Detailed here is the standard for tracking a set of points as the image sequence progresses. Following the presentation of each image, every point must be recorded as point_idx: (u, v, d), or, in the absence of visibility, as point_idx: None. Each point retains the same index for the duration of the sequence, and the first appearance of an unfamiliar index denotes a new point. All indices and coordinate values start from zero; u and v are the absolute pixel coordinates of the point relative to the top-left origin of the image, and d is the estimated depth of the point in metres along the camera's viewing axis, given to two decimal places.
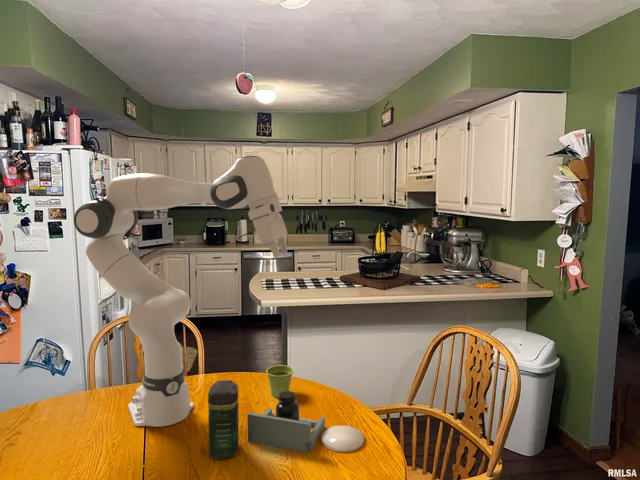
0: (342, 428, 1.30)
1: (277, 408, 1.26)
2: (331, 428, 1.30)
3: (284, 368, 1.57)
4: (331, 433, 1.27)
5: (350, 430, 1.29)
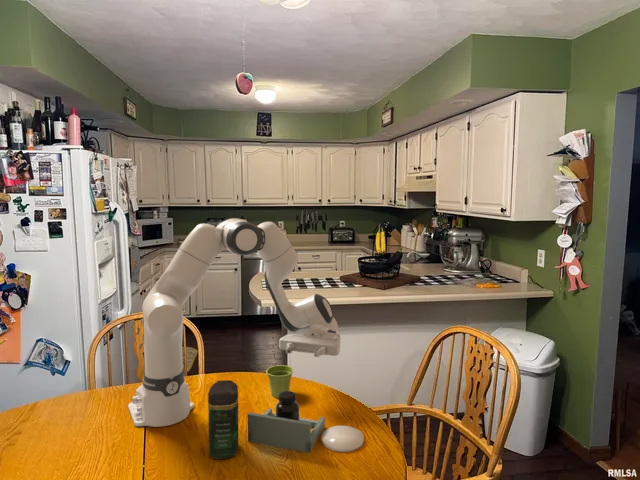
0: (342, 428, 1.30)
1: (277, 408, 1.26)
2: (331, 428, 1.30)
3: (284, 368, 1.57)
4: (331, 433, 1.27)
5: (350, 430, 1.29)
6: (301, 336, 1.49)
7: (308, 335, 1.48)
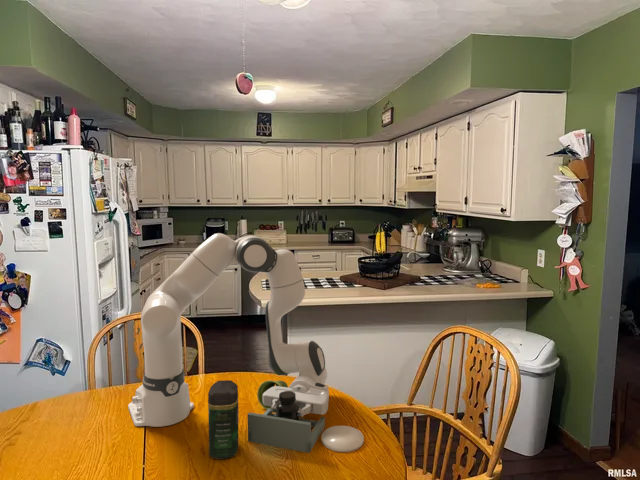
0: (342, 428, 1.30)
1: (277, 408, 1.26)
2: (331, 428, 1.30)
3: None
4: (331, 433, 1.27)
5: (350, 430, 1.29)
6: (286, 390, 1.38)
7: (294, 389, 1.37)
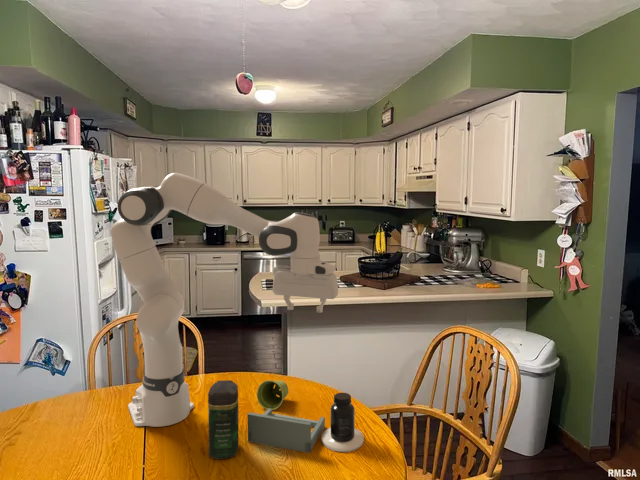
0: None
1: (333, 410, 1.23)
2: None
3: None
4: None
5: None
6: (291, 278, 1.33)
7: (297, 278, 1.32)
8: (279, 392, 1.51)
